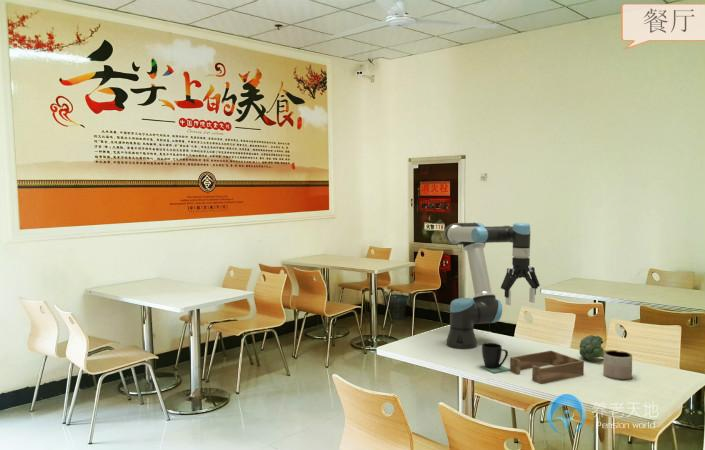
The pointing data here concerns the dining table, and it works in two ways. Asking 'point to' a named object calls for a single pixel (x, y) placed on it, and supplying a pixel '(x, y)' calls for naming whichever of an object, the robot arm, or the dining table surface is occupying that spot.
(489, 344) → the mug
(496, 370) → the mat
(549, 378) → the wooden tray frame
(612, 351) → the planter
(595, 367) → the dining table surface
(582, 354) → the vegetable
